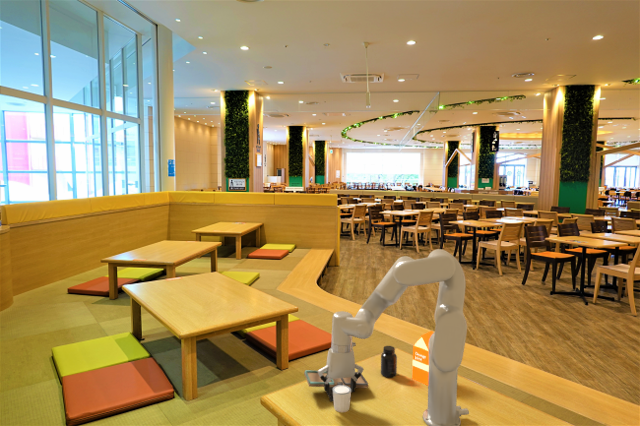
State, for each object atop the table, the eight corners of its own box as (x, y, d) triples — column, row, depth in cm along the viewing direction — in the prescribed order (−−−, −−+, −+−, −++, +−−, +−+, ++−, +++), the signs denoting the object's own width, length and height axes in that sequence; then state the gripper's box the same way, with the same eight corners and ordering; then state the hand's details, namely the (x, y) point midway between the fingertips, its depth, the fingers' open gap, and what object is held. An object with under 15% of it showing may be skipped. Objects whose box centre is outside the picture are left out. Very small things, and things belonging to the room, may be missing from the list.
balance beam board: (359, 375, 161) (360, 372, 161) (368, 388, 151) (368, 384, 151) (304, 374, 156) (304, 370, 156) (308, 386, 146) (309, 382, 146)
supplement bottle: (378, 371, 170) (378, 345, 169) (391, 369, 172) (392, 343, 171) (385, 379, 163) (385, 351, 162) (399, 377, 165) (400, 349, 164)
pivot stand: (340, 380, 162) (340, 365, 161) (350, 399, 147) (351, 383, 147) (321, 382, 160) (321, 367, 160) (330, 401, 146) (330, 385, 145)
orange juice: (412, 378, 163) (413, 333, 162) (423, 372, 169) (424, 328, 168) (428, 386, 158) (429, 338, 156) (439, 378, 164) (440, 333, 162)
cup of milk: (349, 414, 138) (349, 395, 137) (330, 412, 139) (331, 393, 139) (352, 403, 144) (352, 385, 144) (334, 401, 146) (334, 383, 145)
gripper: (360, 340, 146) (359, 384, 147) (316, 343, 142) (314, 388, 143) (367, 349, 139) (365, 394, 140) (320, 352, 135) (319, 399, 136)
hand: (339, 391), depth 142 cm, fingers open, 9 cm apart
